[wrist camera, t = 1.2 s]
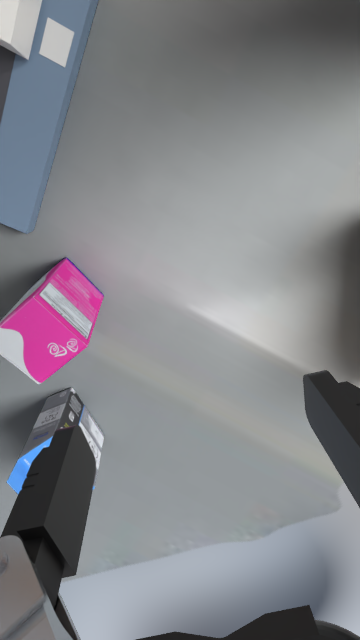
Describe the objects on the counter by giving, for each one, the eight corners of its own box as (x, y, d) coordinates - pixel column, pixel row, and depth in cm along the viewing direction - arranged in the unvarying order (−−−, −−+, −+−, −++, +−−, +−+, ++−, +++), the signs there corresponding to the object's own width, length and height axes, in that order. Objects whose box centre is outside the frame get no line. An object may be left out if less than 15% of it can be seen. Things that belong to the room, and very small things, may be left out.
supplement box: (69, 326, 37) (36, 388, 27) (28, 288, 35) (-25, 339, 24) (107, 296, 36) (88, 347, 25) (67, 254, 34) (28, 292, 23)
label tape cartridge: (106, 435, 44) (90, 525, 33) (80, 444, 44) (55, 537, 33) (73, 385, 40) (42, 468, 29) (45, 396, 41) (4, 482, 30)
